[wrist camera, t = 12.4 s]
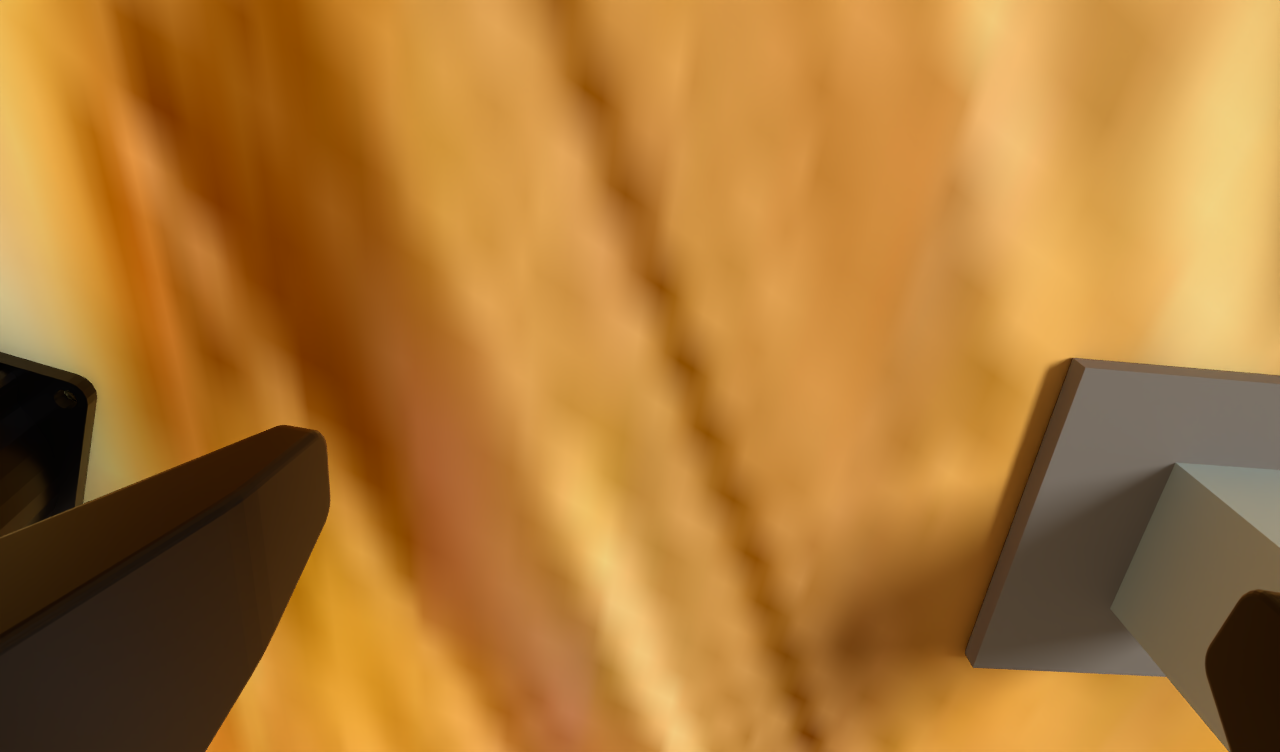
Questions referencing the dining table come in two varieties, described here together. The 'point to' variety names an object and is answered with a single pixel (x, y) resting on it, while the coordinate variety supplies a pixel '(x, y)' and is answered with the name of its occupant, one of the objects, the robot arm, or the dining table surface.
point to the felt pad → (1109, 506)
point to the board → (1200, 569)
